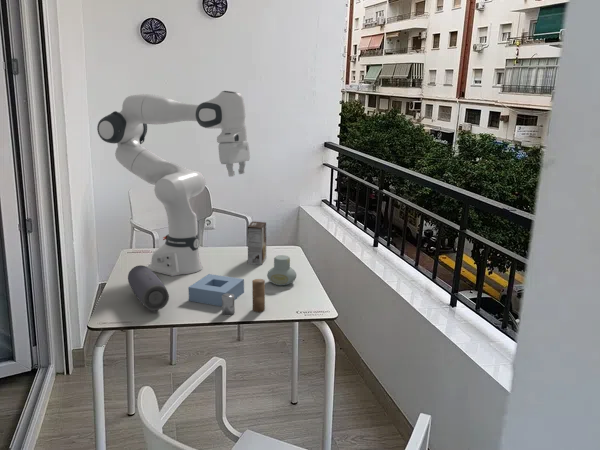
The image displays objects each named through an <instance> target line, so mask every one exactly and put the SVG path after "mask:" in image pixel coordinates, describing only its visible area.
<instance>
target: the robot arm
mask: <svg viewBox="0 0 600 450" xmlns="http://www.w3.org/2000/svg"><path fill="white" fill-rule="evenodd" d="M121 106H122V107H121V110H120V111H116V110H115V111H113V112H111V113H110V114H108V115H105V116H104V117H102V118H101V119H100V120H99V121H98V123H97V128H96V129H97V134H98V137H99V138H100V139H101V140H102V141H103V142H105V143H108V144H113V145H114V144H117V147H116V149H115V153H114V155H115V159H116V160H117V162H118V163H119V164H120V165H122V166H123V168H124V169H126V170H127V171H129V172H130V173H132V174H134V175H135V176H136V177H138V178H140V179H142V180H143V181H144V182H147V183H148V184H149V185H154V188H153V191H154V194H155V198H156V199H157V200H158V201H159V202H160V203H162V205H163V207H164V209H165V212H166V216H167V217H166V218H167V226H168V234H166V235H165V236H163V237H162V241H164V240H165V243H164V244H162V245H161V246H160V247H158V248H157V249H156V250H154V251H153V253H152V255H151V261H150V262H149V263H148V264H146V265H145V266H146V267H147V268H149V269H150V270H151V271H152V272H154V273H155V272H156V273H158V274H159V273H160V274H163V275H167V276H172V277H174V276H179V275H188V274H194V273H196V272H200V271H201V270H202V269H203V264H202V261H201V256H200V251H199V247H200V246H199V245H200V243H199V240H200V237H199V233H198V219H197V216H198V215H197V214H196V213H195V211H193V209H192V206H191V204H190V199H191V198H195V197H197V196H198V195H200V194H201V193H202V192H203V191H204V190H205V187H206V179H205V177H204V175H203V174H202V172H200V171H198V170H193V169H190V168H187V167H185V166H182V165H180V164H177V163H174V162H172V161H169V160H167V159H165V158H163V157H161V156H159V155H158V154H156V153H154V152H153V151H151V150H150V149H148V148H146V147H144V146H143V145H142V144H143V143H144V142H145V139H146V136H147V134H148V133H147V132H148V125H167V124H174V123H179V122H181V123H182V122H197V123H198V125H199V126H200V127H202V128H205V129H214V130H215V129H221V132H220V134H219V135H217V136H216V143H217V144H218V146H217V147H218V157H219V162H220V164H221V165H226V167H225V168H226V170H227V172H228V177H230V178H231V177H235V170H234V164H238V167H239V168H238V175H244V174H245V167H246V162H248V161H250V158H251V155H250V145H249V142H248V138H247V126H246V122H245V121H246V107H245V101H244V97H243V94H241V93H240V92H237V91H231V90H222V91H220V93H219V94H218V95H216V96H215V97H213V98H211V99H209V100H207V101H204V102H201V103H199V104H191V103H186V102H183V101H179V100H175V99H172V98H170V97H165V96H163V95H162V96H161V95H156V94H148V93H147V94H146V93H145V94H144V93H140V94H132V95H131V94H130V95H127V97H125V98H124V100H123V102H122V105H121Z"/></svg>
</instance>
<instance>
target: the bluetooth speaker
mask: <svg viewBox="0 0 600 450" xmlns="http://www.w3.org/2000/svg"><path fill="white" fill-rule="evenodd" d="M127 282H128V284H129V286H130V288H131V290H132V292H133V294H134V297H136V298H137V299H138V301H139V302H140V303H141V304H142V305H143V306H144V307H145V308H146V309H148V310H150V311H158V310H161V309H163V308H165V307H166V305H168V302H169V299H170V295H169V292H168V290H167V287H166V286H165V284H164V283H163V282H162V280H161V279H160V278H159V277H158V275H156V274H155V272H154V271H151V270H150V269H149V268H147V267H146V265H141V264H140V265H136V266H133V267H132V268H131V269H130V270H129V272H128V275H127Z"/></svg>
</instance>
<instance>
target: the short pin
mask: <svg viewBox="0 0 600 450" xmlns="http://www.w3.org/2000/svg"><path fill="white" fill-rule="evenodd" d="M235 304H236V303H235V300H234V294H230V293H227V294H223V295H222V306H221V314H222V316H225V315H231V316H234V315H235V314H234V313H236V312H235V309H236V308H235V307H236V306H235Z"/></svg>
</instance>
